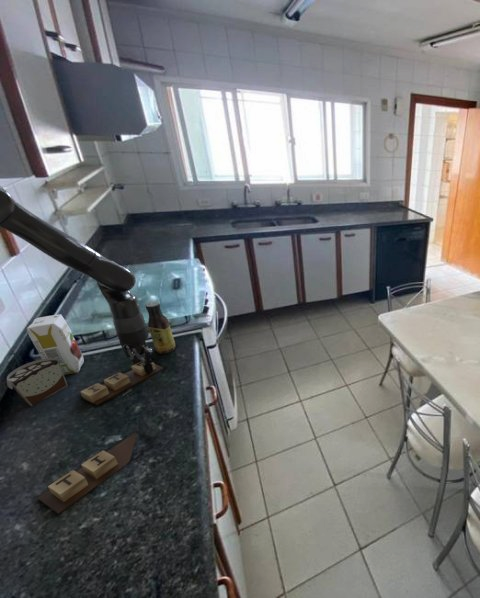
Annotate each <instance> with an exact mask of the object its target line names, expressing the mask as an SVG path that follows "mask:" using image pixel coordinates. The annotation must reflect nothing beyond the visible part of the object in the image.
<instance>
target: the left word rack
mask: <svg viewBox="0 0 480 598" xmlns="http://www.w3.org/2000/svg"><path fill="white" fill-rule="evenodd" d="M137 436H138V433H137V432H133V433H132V434H131V435H129V436H128V437H126V438H125V439H122V441H120V442H119V443H117V444H115V445H114V446H112V447H110V449H108V450H103V449H102V450H101V451H100V452H98V453H96V454H95V455H93V456H92V457H91V458H89V459H87V460H86V461H84V462H82V463H81V464H80V465H81V468H79V469H78V470H76V471H75V470H74V469H72V470H71V471H69V472H67V473H66V474H65V475H63V476H61V477H60V478H58V479H57V480H56V481H54V482H52V483H51V484H49V485H48V486H47V488H48V490H46V491H45V492H44V493H42V494H40V495H39V496H37V497H36V498H37V500H38V501H39V502H40V503H42V504H43V505H44V506H46V507H47V508H49V509H50V510H51V511H53V512H55V513H56V514H57V515H59V516H60V515H62V514H63V513H64V512H65V511H67V510H68V509H69V508H70V507H72V506H74V505H75V504H76V503H77V502H79V501H80V500H81V499H83V498H84V497H85V496H87V495H88V494H89V493H90V492H92V491H93V490H94V489H96V488H97V487H98V486H100V485H101V484H102V483H103V482H105V481H107V480H108V479H109V478H111V477H112V476H113V475H114V474H115V473H117V472H118V471H119V470H121V469H122V468H123V467H125V466H126V465H127V464H129V463H130V460H131V457H132V453H133V450H134V447H135V443H136V441H137V440H136V439H137Z"/></svg>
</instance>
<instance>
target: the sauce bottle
mask: <svg viewBox="0 0 480 598" xmlns="http://www.w3.org/2000/svg"><path fill="white" fill-rule="evenodd" d="M145 309H146V310H147V314H148V322H147V327H148V328H147V329H148V330H149V331H148V332H149V334H150V337H151V340H152V343H153V346H154V349H155V351H156V353H158V354H161V355H162V354H163V355H164V354H168V353H171V352H173V351H174V350H175V349H176V348H177V347H176V342H175V338H174V335H173V331H172V328H171V324H170V323H169V319H168V317H167V316H166V315H164V314H163V311H162V310H161V309H162V308H161V303H160V302H159V301H150V302H147V303H146V304H145Z"/></svg>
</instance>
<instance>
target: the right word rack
mask: <svg viewBox="0 0 480 598" xmlns="http://www.w3.org/2000/svg"><path fill="white" fill-rule="evenodd" d="M154 364H155V368H156V369H155V370H153V371H152V372H150V373H148V374H145V375H143V376H141V375H139V374H136V373H134V372H133V370H132V369H131V370H129V371H126V372H125V373H122V372H117V373H115V374H113V375H111V376H108V377H107V378H105V379H103V382H104V383H103V384H101V383H99V382H96V383H95V384H93V385H91V386H89V387H87V388H84V389H83V390H80V394H81V395H80V398H81V399H82V400H85V401H86V402H88V403H91V404H92V405H95V406H96V407H99V406H101V405H103V404H104V403H106V402H109V401H111V400H112V399H114V398H115V397H118V396H119V395H121V394H123V393H125V392H127V391H128V390H129V389H131V388H134V387H136V385H138V384H140V383H141V382H143V381H145V380H147V379H148V378H150V377H152V376H154V375H155V374H157V373H158V372H160V371H162V370H164V369H165V367H164V366H161V365H158V364H156V363H154Z"/></svg>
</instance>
